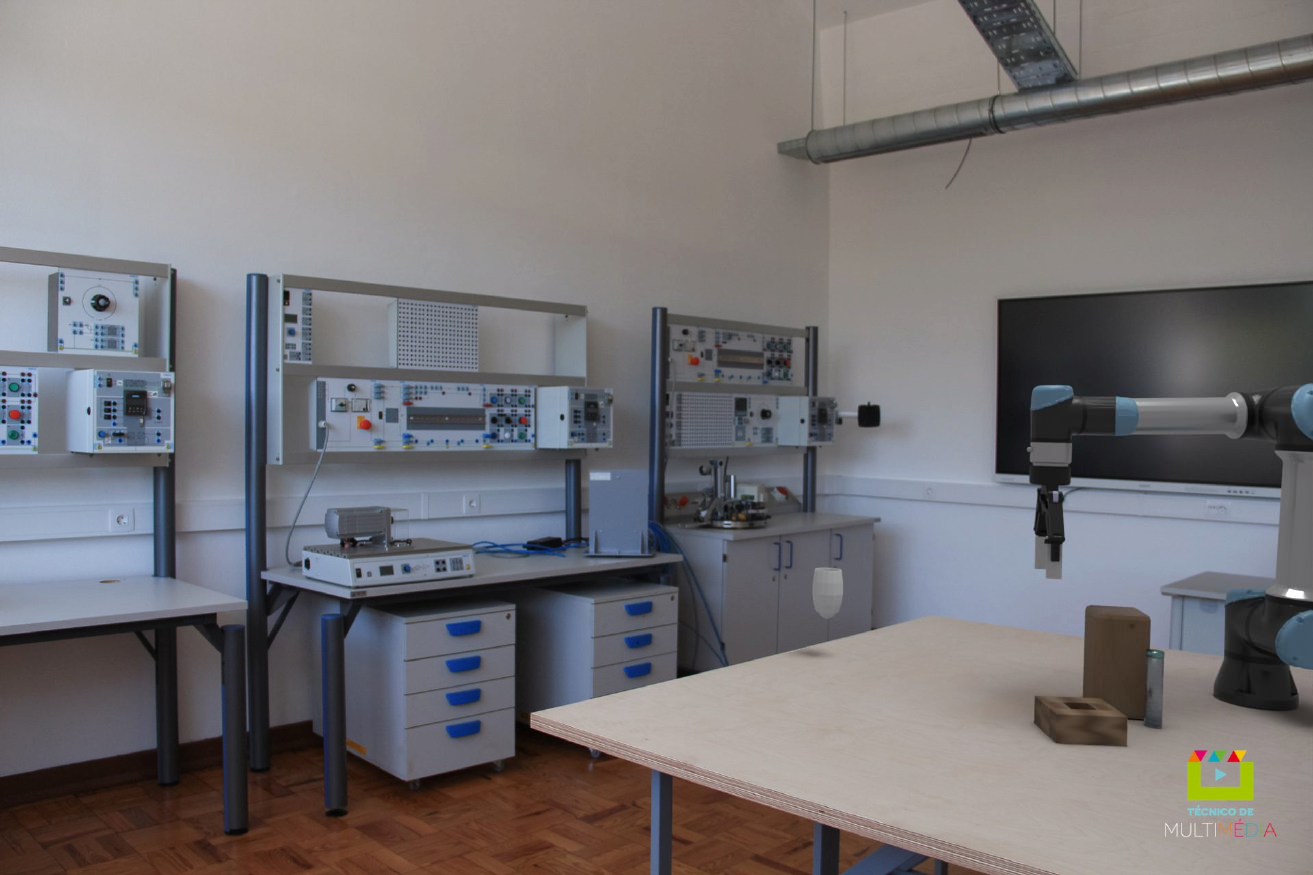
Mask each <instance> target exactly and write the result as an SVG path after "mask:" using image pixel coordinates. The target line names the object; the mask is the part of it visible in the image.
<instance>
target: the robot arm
mask: <svg viewBox="0 0 1313 875" xmlns="http://www.w3.org/2000/svg"><path fill="white" fill-rule="evenodd" d="M1032 389H1033V390H1032V392H1031V400H1030V409H1029V411H1030V446H1028V447H1027V448H1026V451H1027V452H1029V462H1031V463H1032V465H1030V466H1029V472H1028V473H1029V474H1028V476H1029V477H1028V479H1029V480H1028V481H1029V484H1031V485H1037V486H1040V487H1037V489H1036V493H1037V494H1036V506H1035V513H1034V514H1035V515H1034V525H1033V532H1034V535H1035V536H1034V537H1035V538H1034V539H1035V540H1034V542H1035V543H1034V569H1035V570H1045V579H1049V580H1050V579H1051V580H1063V578H1062V576H1063V543H1065V542H1066V537H1065V536H1066V535H1065V522H1064V521H1065V519H1064V504H1063V503H1064V502H1063V498H1064V493H1063V491H1062V490H1061V491H1059V486H1061V487H1065V486H1066V487H1067V486H1070V485H1071V482H1072V474H1071V473H1072V468H1071V467H1070V466H1069V465H1070V464H1071V463H1072V459H1073V458H1072V456H1073V454H1072V453H1073V443H1072V442H1073V438H1072V437H1073V436H1108V437H1109V436H1112V437H1113V436H1114V437H1118V436H1119V437H1120V436H1131V435H1226V436H1227V437H1228V438H1230V439H1232V440H1235V439H1236V440H1237V439H1238V440H1241V439H1242V440H1252V441H1253V440H1255V441H1262V442H1268V443H1269V442H1270V443H1274V453H1275V454H1276V456H1277V457H1278V458H1280V459H1281V461H1282V472H1281V473H1282V474H1281V475H1282V476H1281V485H1280V486H1281V488H1280V504H1279V505H1280V507H1279V517H1278V518H1279V520H1278V521H1279V522H1278V535H1277V549H1276V562H1275V563H1276V564H1275V579H1274V584H1273V585H1271V586H1270V587H1269V588H1268V589H1263V588H1262V589H1259V588H1258V589H1257V588H1231V589H1229V590H1228V591H1227V592H1226V594H1225V602H1224V605H1223V606H1224V638H1223V639H1224V640H1223V641H1224V643H1223V644H1224V646H1223V648H1224V649H1223V650H1224V651H1223V660H1222V662H1221V666H1220V667H1219V671H1218V673H1217V675H1216V677H1215V680H1214V683H1213V690H1212V691H1213V692H1212V694H1213V696H1214V697H1215V698H1217V699H1219V700H1221V701H1224V702H1228V703H1231V704H1235V705H1238V706H1241V707H1247V708H1248V707H1249V708H1256V709H1263V710H1276V711H1278V710H1279V711H1285V710H1286V711H1287V710H1294V709H1297V708H1299V706H1300V694H1299V692H1298V689H1297V685H1296V682H1295V679H1294V676H1293V673H1292V669H1291V667H1295V668H1300V669H1303V670H1313V382H1311V383H1310V382H1309V383H1305V384H1295V385H1282V386H1275V387H1271V388H1264V389H1259V390H1252V391H1236V392H1235V391H1233V392H1230V393H1228V394H1227V395H1226V396H1224V397H1223V396H1222V397H1219V396H1218V397H1147V398H1146V397H1140V398H1139V397H1137V398H1135V397H1134V398H1133V397H1132V398H1131V397H1122V396H1119V395H1118V396H1080V395H1075V394H1074V390H1073V387H1072V386H1070V385H1061V384H1055V385H1054V384H1053V385H1052V384H1050V385H1048V384H1045V385H1037V386H1035V387H1034V388H1032Z"/></svg>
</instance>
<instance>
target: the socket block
mask: <svg viewBox="0 0 1313 875" xmlns="http://www.w3.org/2000/svg"><path fill="white" fill-rule="evenodd" d="M1033 706H1034V707H1033V708H1034V713H1033V723H1034V724H1035V725H1036V726H1037V727H1038V728H1039V729H1040V730H1041V731H1043V732H1044V733H1045V735H1047V736H1048V737H1049V738H1050V739H1051V740H1052V741H1054V742H1055V743H1056V744H1072V745H1073V744H1074V745H1075V744H1076V745H1093V746H1094V745H1097V746H1100V745H1101V746H1119V747H1121V746H1122V747H1126V746H1127V747H1128V721H1129V718H1128V717H1127V716H1125V715H1124V714H1122V713H1121V712H1120V711H1118V710H1117V709H1115V708H1114V707H1112V706H1111V705H1109V704H1108V703H1107V702H1105V701H1104V700H1102V699H1101V698H1083V697H1075V696H1074V697H1073V696H1049V695H1046V696H1045V695H1034V705H1033Z"/></svg>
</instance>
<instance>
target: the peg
mask: <svg viewBox="0 0 1313 875" xmlns="http://www.w3.org/2000/svg"><path fill="white" fill-rule="evenodd" d="M1164 667H1165V651H1164V650H1161V649H1153V648H1150V649H1146V671H1145V706H1144V719H1143V726H1145V727H1146V728H1149V729H1150V728H1151V729H1162V728H1163V706H1164V705H1163V703H1164V702H1163V701H1164V676H1165V675H1164V671H1165V670H1164V669H1165V668H1164Z"/></svg>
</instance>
